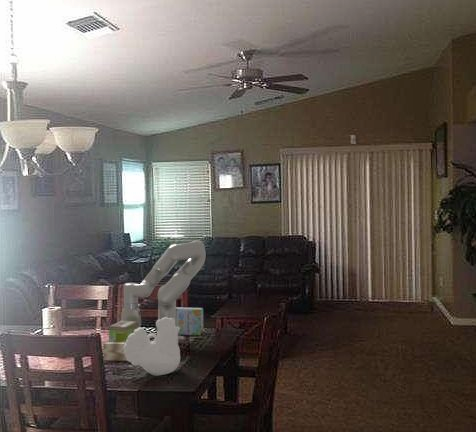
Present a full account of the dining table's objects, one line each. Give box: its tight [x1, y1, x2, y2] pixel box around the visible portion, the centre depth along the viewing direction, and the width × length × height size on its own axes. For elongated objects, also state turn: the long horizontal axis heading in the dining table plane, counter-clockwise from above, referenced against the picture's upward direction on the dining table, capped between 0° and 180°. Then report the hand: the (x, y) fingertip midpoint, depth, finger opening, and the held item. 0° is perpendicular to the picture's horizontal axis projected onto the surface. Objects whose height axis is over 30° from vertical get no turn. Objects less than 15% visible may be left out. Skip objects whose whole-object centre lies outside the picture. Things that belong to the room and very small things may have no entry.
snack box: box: [176, 306, 204, 336], centre depth 334 cm, size 21×6×15 cm, turn 77°
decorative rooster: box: [123, 317, 181, 377], centre depth 256 cm, size 25×16×25 cm, turn 99°
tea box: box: [108, 320, 138, 342], centre depth 294 cm, size 15×10×15 cm, turn 168°
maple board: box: [102, 341, 127, 361], centre depth 280 cm, size 12×3×8 cm, turn 87°
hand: (130, 340), depth 310 cm, fingers closed
